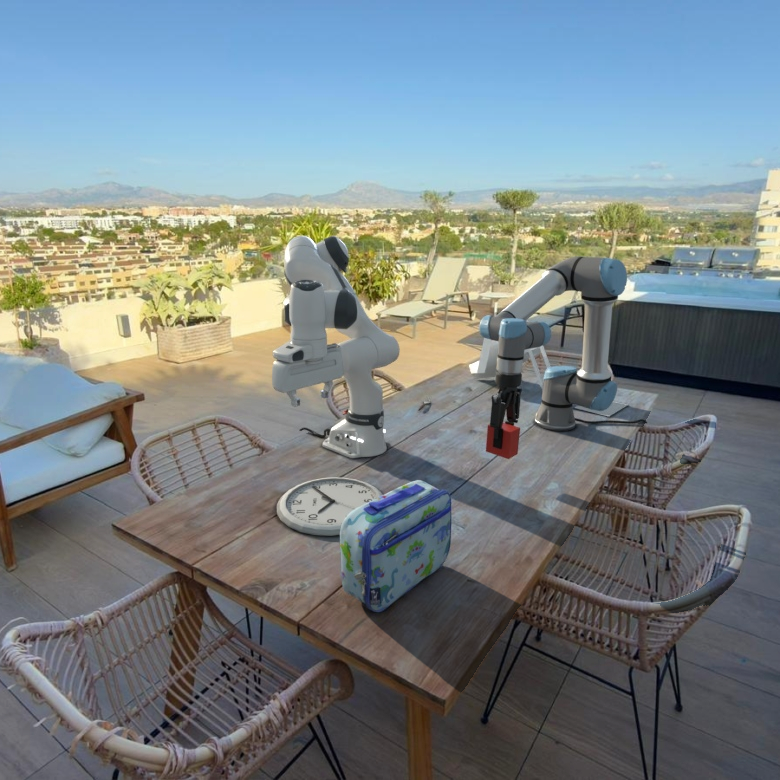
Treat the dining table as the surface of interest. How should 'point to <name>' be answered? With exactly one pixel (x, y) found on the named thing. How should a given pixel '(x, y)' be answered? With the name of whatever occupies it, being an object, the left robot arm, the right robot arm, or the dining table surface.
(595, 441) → the dining table surface
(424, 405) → the fork
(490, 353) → the white plastic object
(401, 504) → the lunch box
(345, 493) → the wall clock
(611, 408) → the invitation card
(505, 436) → the brick
